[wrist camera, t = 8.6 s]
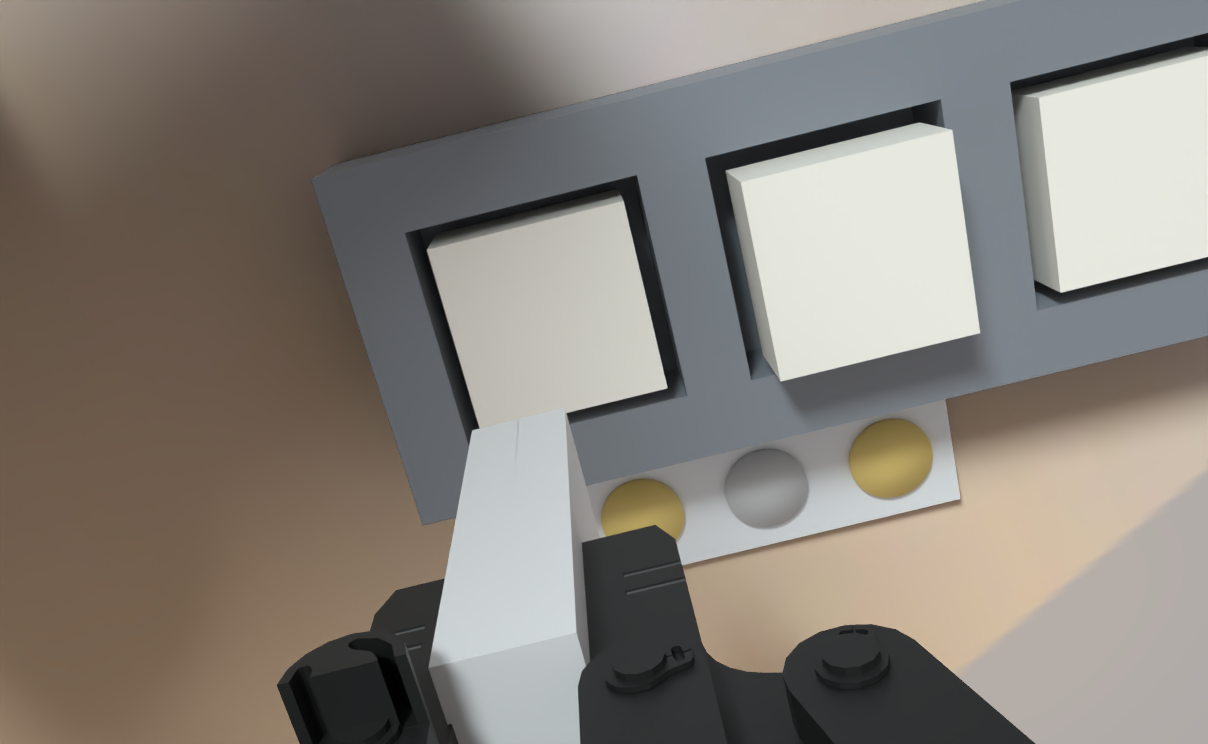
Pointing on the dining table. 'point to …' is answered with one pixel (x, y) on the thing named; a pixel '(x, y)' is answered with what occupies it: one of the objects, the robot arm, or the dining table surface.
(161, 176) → the dining table surface
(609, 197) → the button
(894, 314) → the button
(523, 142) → the board
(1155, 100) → the button
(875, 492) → the card
